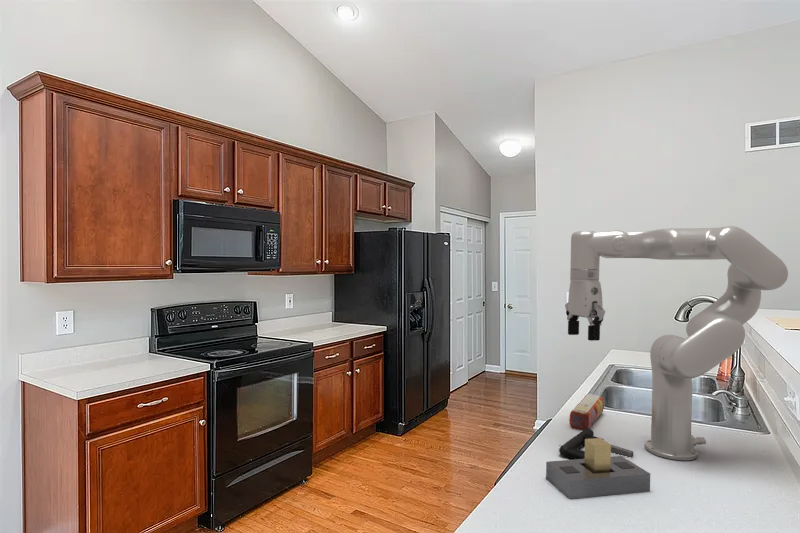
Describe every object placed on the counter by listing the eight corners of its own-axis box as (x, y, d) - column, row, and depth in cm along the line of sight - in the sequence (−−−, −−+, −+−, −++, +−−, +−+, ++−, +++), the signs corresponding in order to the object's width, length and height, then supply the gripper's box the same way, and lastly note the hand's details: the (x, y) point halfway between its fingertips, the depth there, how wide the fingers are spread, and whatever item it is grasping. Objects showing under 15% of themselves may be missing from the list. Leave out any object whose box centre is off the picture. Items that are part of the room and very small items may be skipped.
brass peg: (599, 480, 114) (600, 438, 114) (609, 488, 110) (610, 444, 110) (583, 481, 113) (584, 438, 113) (593, 489, 109) (594, 445, 109)
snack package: (589, 433, 146) (590, 411, 146) (567, 428, 149) (567, 407, 149) (604, 415, 163) (604, 395, 163) (583, 411, 167) (584, 391, 167)
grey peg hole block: (620, 472, 118) (621, 455, 118) (649, 491, 109) (650, 473, 109) (546, 478, 114) (546, 461, 114) (569, 499, 105) (569, 480, 104)
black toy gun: (639, 442, 133) (581, 425, 143) (617, 465, 118) (553, 444, 128) (638, 454, 133) (580, 436, 143) (616, 478, 118) (552, 456, 128)
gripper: (616, 277, 127) (615, 342, 127) (578, 274, 144) (577, 332, 144) (591, 276, 125) (589, 343, 125) (555, 274, 142) (554, 332, 142)
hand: (583, 337), depth 135 cm, fingers open, 9 cm apart
